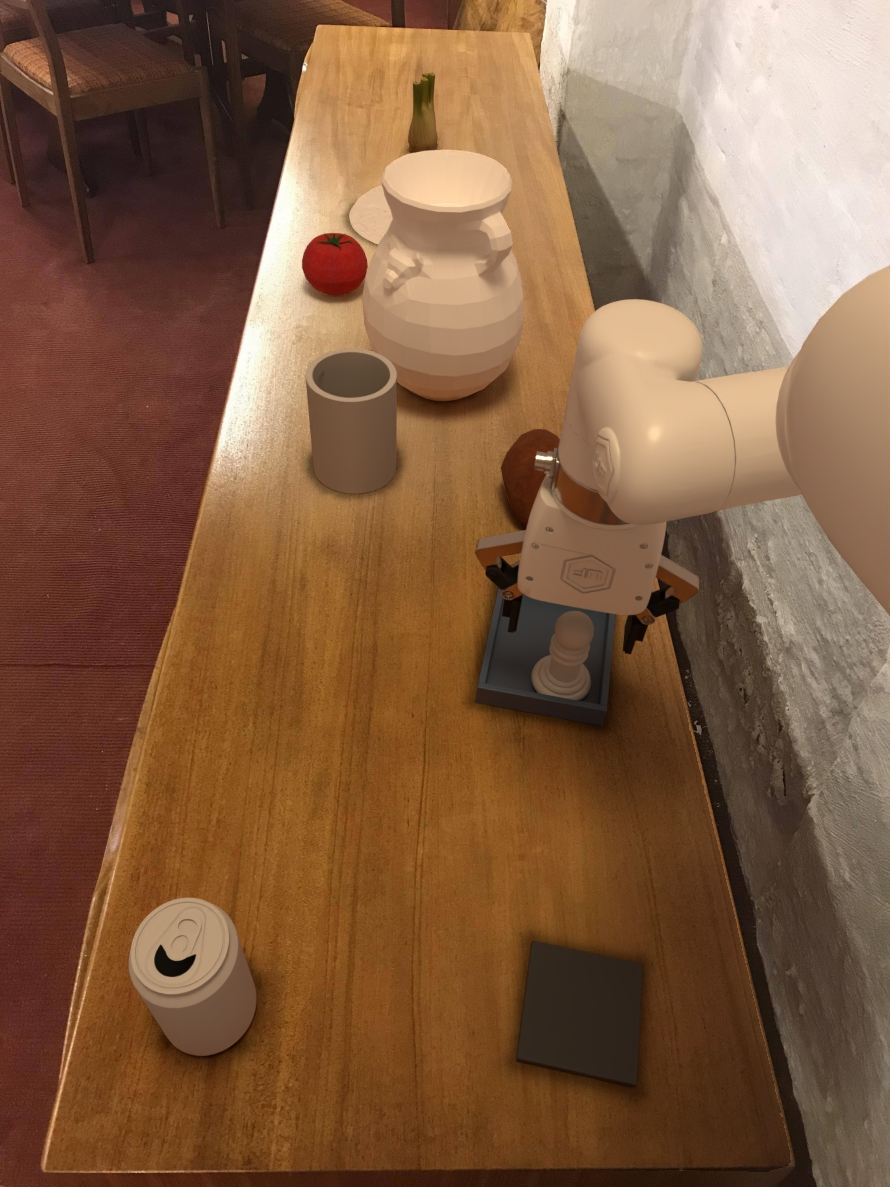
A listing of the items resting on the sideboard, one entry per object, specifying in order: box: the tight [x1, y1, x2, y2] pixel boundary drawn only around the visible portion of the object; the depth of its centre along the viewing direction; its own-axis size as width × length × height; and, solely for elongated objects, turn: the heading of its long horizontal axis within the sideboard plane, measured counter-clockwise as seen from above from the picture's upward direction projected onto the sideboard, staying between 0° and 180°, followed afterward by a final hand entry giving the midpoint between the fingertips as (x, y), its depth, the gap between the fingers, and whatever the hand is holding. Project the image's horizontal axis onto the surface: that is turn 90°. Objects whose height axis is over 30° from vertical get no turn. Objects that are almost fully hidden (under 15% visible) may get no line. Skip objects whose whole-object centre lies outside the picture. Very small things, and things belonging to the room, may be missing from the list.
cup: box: [305, 347, 398, 495], centre depth 95 cm, size 9×9×12 cm
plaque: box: [348, 184, 393, 245], centre depth 138 cm, size 20×20×2 cm
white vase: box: [361, 149, 525, 402], centre depth 101 cm, size 19×18×25 cm
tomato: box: [301, 232, 369, 297], centre depth 120 cm, size 9×9×8 cm
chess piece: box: [531, 611, 594, 701], centre depth 77 cm, size 5×5×9 cm
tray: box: [475, 587, 617, 727], centre depth 82 cm, size 14×11×2 cm
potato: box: [500, 428, 560, 527], centre depth 94 cm, size 8×12×8 cm, turn 179°
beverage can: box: [128, 897, 257, 1057], centre depth 57 cm, size 6×6×12 cm
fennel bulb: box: [407, 72, 439, 153], centre depth 150 cm, size 6×5×12 cm
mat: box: [515, 940, 644, 1088], centre depth 62 cm, size 8×8×1 cm
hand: (570, 630), depth 76 cm, fingers open, 9 cm apart
